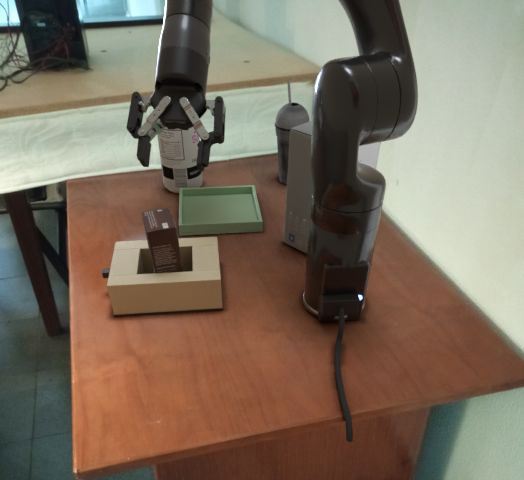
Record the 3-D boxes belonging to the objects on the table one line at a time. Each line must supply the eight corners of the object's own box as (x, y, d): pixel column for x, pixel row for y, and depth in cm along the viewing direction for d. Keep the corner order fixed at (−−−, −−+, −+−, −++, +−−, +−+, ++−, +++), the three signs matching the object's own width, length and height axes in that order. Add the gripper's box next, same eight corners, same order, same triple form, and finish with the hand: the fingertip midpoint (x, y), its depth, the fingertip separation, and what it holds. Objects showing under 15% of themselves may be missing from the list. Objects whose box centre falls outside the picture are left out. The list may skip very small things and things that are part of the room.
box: (152, 279, 79) (140, 210, 71) (180, 275, 80) (171, 206, 72) (158, 301, 75) (146, 230, 67) (187, 296, 76) (179, 226, 68)
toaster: (223, 309, 74) (221, 279, 70) (103, 317, 73) (94, 286, 69) (219, 265, 83) (217, 236, 79) (112, 270, 82) (105, 241, 78)
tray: (262, 231, 91) (262, 221, 90) (179, 235, 90) (178, 225, 89) (254, 194, 102) (254, 185, 101) (180, 197, 101) (179, 188, 100)
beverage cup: (303, 188, 105) (311, 85, 91) (270, 185, 106) (272, 82, 92) (308, 174, 110) (316, 74, 96) (276, 171, 111) (279, 72, 97)
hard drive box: (314, 259, 85) (326, 141, 71) (281, 243, 88) (286, 127, 75) (367, 227, 93) (386, 115, 79) (335, 213, 97) (348, 104, 83)
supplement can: (159, 182, 106) (149, 107, 96) (195, 175, 109) (189, 102, 99) (170, 197, 101) (160, 120, 91) (208, 190, 104) (203, 115, 93)
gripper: (128, 41, 70) (116, 153, 70) (226, 45, 69) (214, 159, 69) (145, 73, 78) (134, 174, 77) (234, 77, 77) (223, 180, 76)
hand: (172, 167), depth 73 cm, fingers open, 8 cm apart
